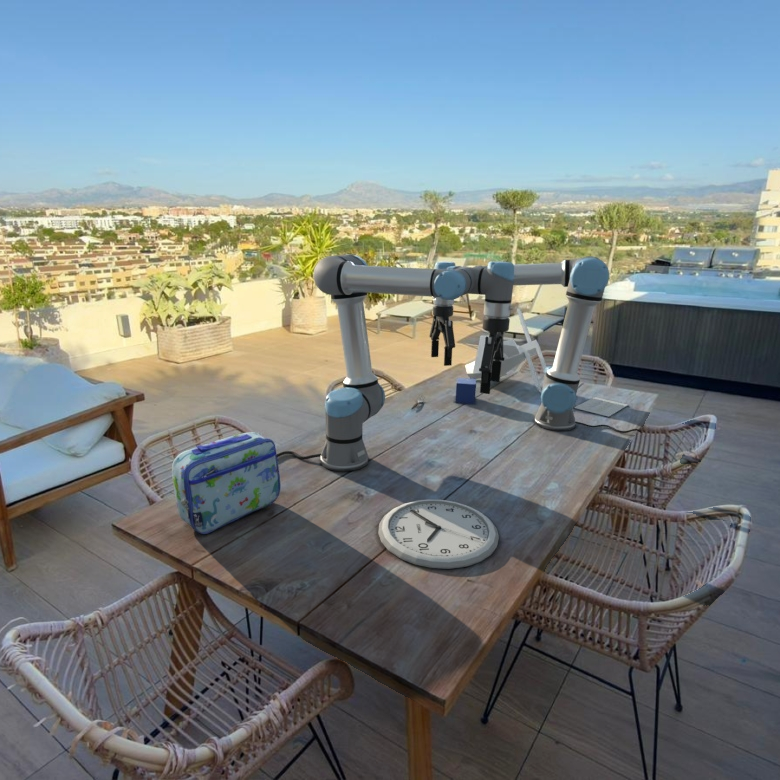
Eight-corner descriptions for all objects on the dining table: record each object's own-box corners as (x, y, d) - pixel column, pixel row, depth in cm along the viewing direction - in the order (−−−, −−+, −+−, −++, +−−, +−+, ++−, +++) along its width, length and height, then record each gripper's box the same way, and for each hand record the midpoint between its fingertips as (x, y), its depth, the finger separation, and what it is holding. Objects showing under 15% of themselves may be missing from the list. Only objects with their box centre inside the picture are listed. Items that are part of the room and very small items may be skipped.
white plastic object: (486, 421, 262) (466, 398, 237) (467, 348, 284) (447, 320, 260) (558, 397, 250) (545, 370, 225) (533, 322, 272) (517, 290, 247)
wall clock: (515, 560, 118) (382, 565, 115) (514, 566, 118) (382, 571, 116) (482, 494, 146) (374, 497, 144) (481, 500, 147) (374, 502, 144)
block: (455, 402, 228) (456, 383, 226) (456, 396, 236) (457, 377, 234) (474, 404, 227) (476, 384, 224) (474, 398, 235) (476, 378, 232)
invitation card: (608, 416, 214) (573, 407, 224) (608, 416, 214) (573, 408, 224) (628, 404, 229) (594, 396, 238) (628, 405, 229) (594, 397, 238)
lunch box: (192, 543, 125) (183, 462, 118) (173, 525, 132) (164, 448, 126) (285, 505, 142) (281, 433, 136) (263, 491, 149) (259, 422, 143)
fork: (408, 410, 218) (408, 405, 217) (419, 398, 232) (419, 394, 231) (414, 410, 217) (414, 406, 216) (425, 399, 231) (425, 395, 231)
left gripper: (500, 324, 138) (493, 400, 145) (517, 312, 160) (510, 378, 167) (472, 322, 141) (467, 396, 148) (493, 309, 163) (487, 375, 169)
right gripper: (422, 300, 203) (420, 354, 209) (446, 310, 180) (443, 369, 186) (440, 300, 205) (438, 353, 211) (466, 309, 182) (463, 368, 188)
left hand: (490, 387), depth 157 cm, fingers open, 13 cm apart
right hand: (440, 361), depth 199 cm, fingers open, 13 cm apart
